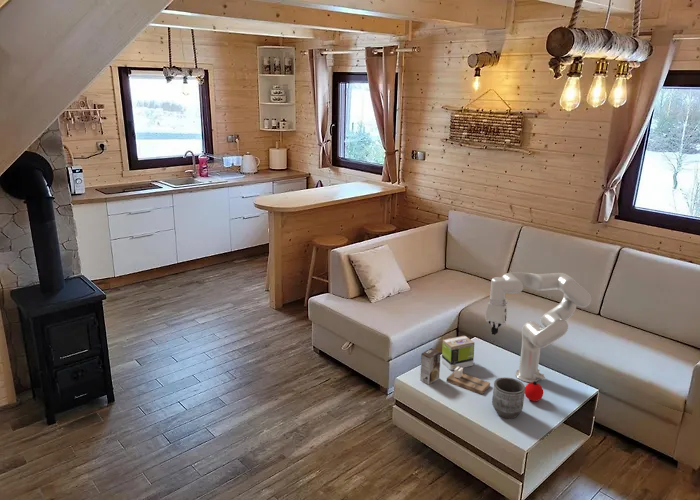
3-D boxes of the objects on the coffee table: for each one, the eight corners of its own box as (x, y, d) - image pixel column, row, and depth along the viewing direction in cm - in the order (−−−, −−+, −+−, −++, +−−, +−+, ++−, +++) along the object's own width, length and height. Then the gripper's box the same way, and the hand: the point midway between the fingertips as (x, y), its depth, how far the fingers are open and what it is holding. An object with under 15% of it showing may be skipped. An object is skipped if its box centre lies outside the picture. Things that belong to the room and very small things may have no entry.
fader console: (489, 386, 273) (490, 382, 272) (481, 394, 265) (482, 390, 265) (455, 373, 284) (455, 370, 284) (446, 381, 277) (446, 377, 276)
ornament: (520, 399, 261) (522, 381, 258) (528, 392, 267) (530, 375, 264) (537, 406, 255) (539, 388, 252) (545, 399, 261) (547, 382, 258)
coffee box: (429, 374, 284) (431, 347, 279) (439, 378, 279) (441, 351, 275) (419, 380, 278) (420, 353, 273) (429, 385, 273) (430, 357, 269)
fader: (462, 375, 278) (463, 367, 277) (459, 378, 275) (459, 370, 274) (457, 373, 280) (458, 365, 279) (453, 376, 277) (454, 368, 276)
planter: (493, 401, 259) (496, 374, 255) (523, 407, 254) (526, 380, 250) (489, 417, 247) (492, 389, 243) (520, 424, 242) (523, 396, 237)
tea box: (463, 358, 301) (465, 334, 297) (473, 366, 292) (475, 342, 288) (440, 362, 296) (442, 338, 292) (450, 370, 287) (451, 346, 283)
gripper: (514, 302, 265) (511, 335, 270) (486, 295, 273) (483, 327, 279) (508, 307, 259) (505, 340, 264) (480, 300, 268) (477, 332, 273)
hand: (494, 333), depth 272 cm, fingers closed
